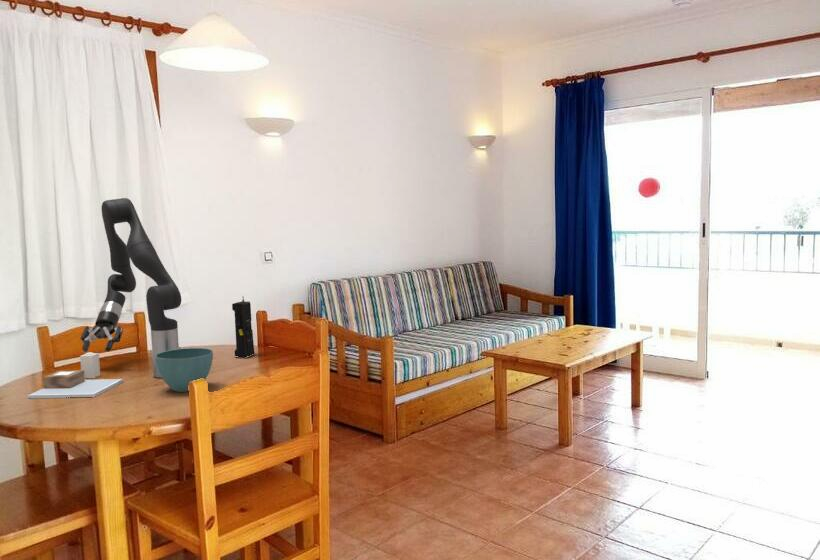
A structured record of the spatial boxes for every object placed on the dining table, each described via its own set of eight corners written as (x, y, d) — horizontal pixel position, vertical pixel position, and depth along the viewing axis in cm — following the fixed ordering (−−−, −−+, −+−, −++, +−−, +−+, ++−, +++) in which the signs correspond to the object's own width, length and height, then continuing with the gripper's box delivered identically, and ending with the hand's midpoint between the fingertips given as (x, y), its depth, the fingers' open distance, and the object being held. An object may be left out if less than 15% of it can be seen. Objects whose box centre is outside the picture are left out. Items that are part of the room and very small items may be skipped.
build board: (123, 381, 226) (122, 367, 226) (93, 397, 206) (92, 382, 206) (62, 382, 227) (61, 368, 227) (27, 398, 207) (26, 383, 207)
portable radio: (247, 358, 260) (244, 298, 257) (233, 358, 261) (230, 298, 258) (255, 354, 267) (252, 295, 265) (242, 354, 268) (239, 295, 266)
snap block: (100, 375, 237) (98, 351, 236) (93, 378, 233) (92, 354, 232) (88, 375, 237) (86, 351, 236) (81, 378, 233) (79, 354, 232)
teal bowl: (184, 380, 226) (182, 346, 225) (226, 384, 219) (224, 349, 218) (145, 393, 210) (143, 356, 208) (189, 398, 203) (186, 360, 201)
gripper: (87, 310, 246) (72, 345, 236) (123, 309, 246) (110, 344, 235) (95, 321, 252) (81, 356, 242) (130, 321, 252) (118, 355, 241)
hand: (95, 350), depth 239 cm, fingers open, 8 cm apart
